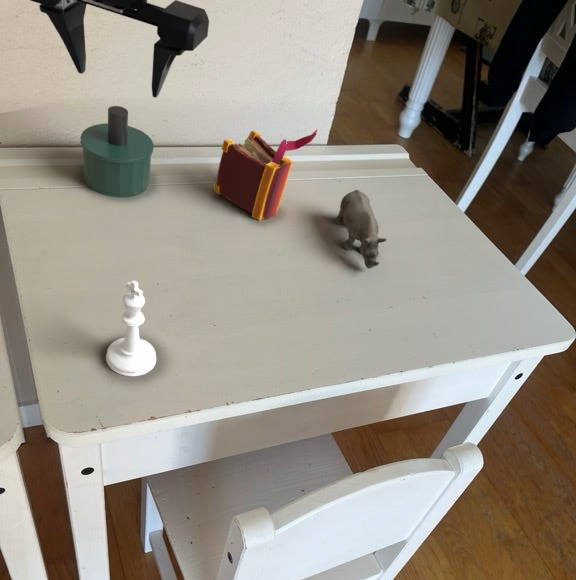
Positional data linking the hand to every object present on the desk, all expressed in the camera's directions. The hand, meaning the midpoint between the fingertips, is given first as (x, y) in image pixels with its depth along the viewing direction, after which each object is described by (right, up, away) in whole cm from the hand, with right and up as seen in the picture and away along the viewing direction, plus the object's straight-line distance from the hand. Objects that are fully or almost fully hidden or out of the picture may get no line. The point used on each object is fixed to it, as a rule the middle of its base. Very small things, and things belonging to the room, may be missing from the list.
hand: (118, 84), depth 74 cm
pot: (-3, -8, +9) cm, 13 cm away
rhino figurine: (+29, -17, +11) cm, 36 cm away
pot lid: (-2, -5, +6) cm, 8 cm away
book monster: (+17, -10, +14) cm, 24 cm away
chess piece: (+4, -33, -11) cm, 35 cm away
